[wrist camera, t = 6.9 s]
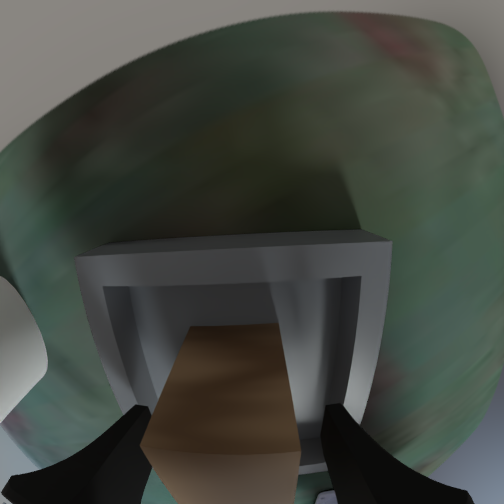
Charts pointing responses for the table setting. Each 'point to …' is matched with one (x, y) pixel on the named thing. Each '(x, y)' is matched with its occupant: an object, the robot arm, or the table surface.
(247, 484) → the walnut block
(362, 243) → the tray
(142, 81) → the table surface
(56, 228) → the table surface
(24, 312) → the cylinder with rectangular tab
